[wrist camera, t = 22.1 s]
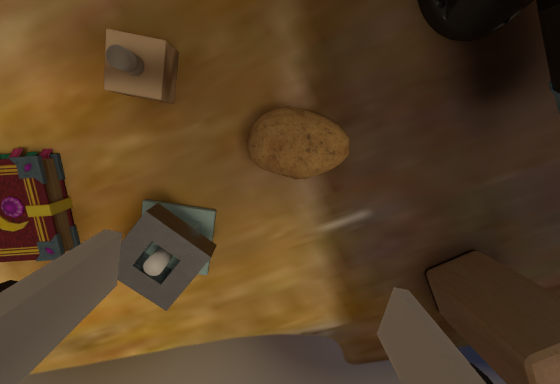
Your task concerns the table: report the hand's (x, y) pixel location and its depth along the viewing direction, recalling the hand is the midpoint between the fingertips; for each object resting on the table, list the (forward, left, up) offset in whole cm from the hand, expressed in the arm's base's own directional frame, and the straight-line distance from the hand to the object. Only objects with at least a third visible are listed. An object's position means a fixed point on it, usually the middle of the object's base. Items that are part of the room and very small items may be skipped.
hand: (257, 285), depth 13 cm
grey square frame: (+12, -12, -25) cm, 30 cm away
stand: (-12, -18, -30) cm, 37 cm away
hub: (+12, -12, -30) cm, 35 cm away
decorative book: (+9, -34, -31) cm, 47 cm away
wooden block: (+13, +37, -31) cm, 50 cm away
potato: (-6, +4, -31) cm, 31 cm away
